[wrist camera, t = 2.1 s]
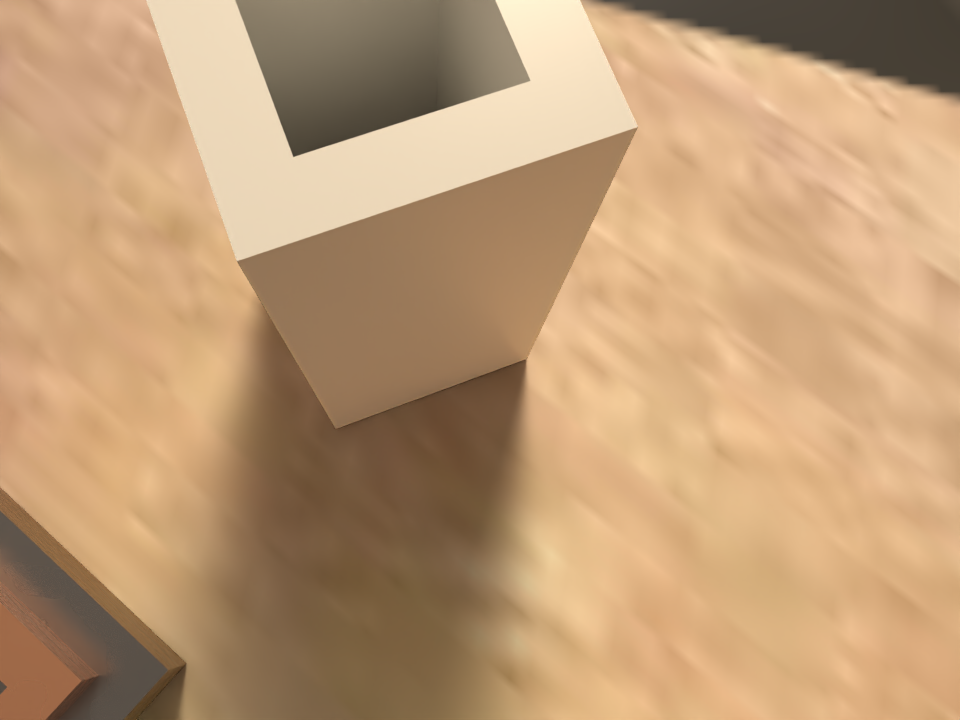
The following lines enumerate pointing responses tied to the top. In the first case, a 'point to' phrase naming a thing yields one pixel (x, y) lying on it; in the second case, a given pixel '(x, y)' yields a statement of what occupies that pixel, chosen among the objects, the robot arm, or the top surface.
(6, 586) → the seat plate
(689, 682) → the top surface
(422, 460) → the top surface
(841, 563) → the top surface
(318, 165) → the sleeve
